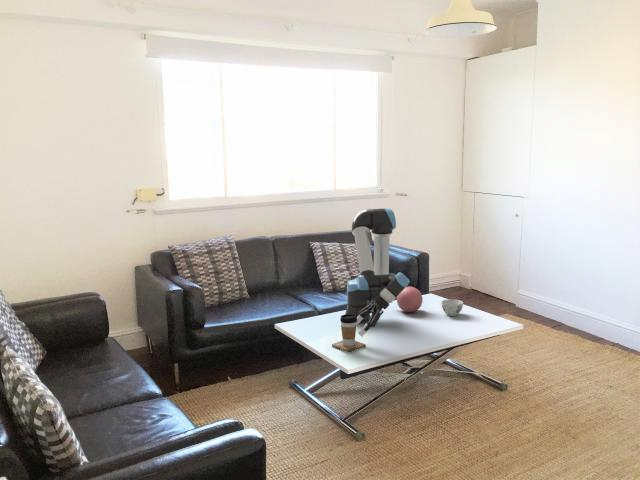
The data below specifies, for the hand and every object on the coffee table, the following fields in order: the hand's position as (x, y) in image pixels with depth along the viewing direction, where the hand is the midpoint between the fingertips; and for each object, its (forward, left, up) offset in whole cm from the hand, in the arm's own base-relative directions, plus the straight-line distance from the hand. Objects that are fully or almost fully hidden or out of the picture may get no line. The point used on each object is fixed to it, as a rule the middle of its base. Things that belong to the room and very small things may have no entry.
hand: (356, 330), depth 269 cm
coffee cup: (-2, -3, -7) cm, 8 cm away
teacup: (+5, +75, -8) cm, 76 cm away
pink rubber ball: (-19, +63, -8) cm, 66 cm away
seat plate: (-2, -3, -8) cm, 9 cm away
